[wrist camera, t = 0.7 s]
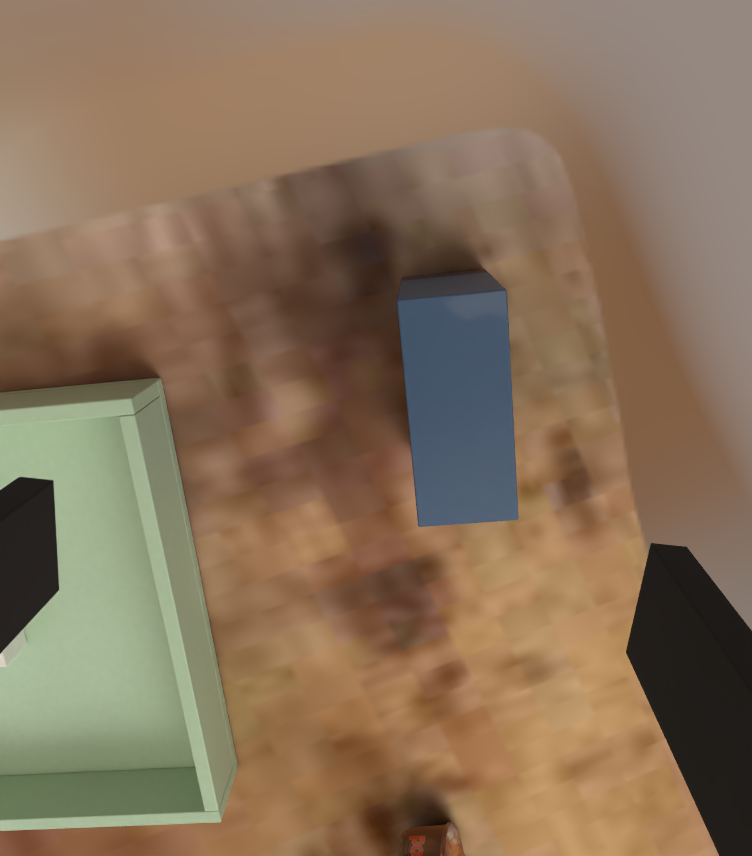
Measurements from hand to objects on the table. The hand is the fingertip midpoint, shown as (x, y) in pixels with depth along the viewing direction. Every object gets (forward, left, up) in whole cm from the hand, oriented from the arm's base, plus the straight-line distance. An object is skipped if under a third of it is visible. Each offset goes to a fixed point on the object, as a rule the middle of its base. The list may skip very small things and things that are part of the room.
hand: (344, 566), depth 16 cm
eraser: (-1, +3, -17) cm, 17 cm away
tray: (+9, -19, -17) cm, 27 cm away
